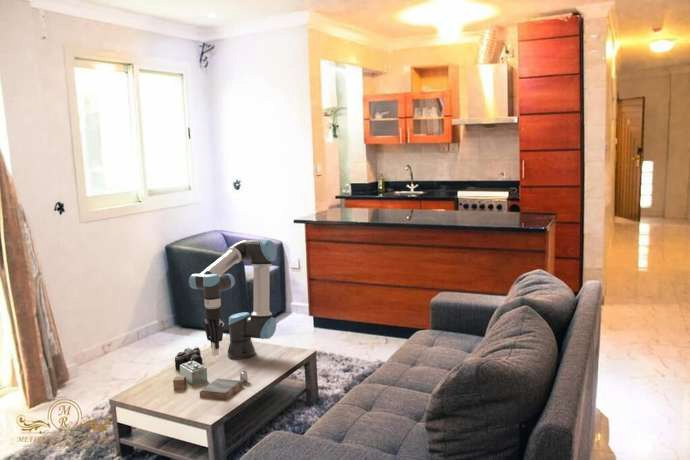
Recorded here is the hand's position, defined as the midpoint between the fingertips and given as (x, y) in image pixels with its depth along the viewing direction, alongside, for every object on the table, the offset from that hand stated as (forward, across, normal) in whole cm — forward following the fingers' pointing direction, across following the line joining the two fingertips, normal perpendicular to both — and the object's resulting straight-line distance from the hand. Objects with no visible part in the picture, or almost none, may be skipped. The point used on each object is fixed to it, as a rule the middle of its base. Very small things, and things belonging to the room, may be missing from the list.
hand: (215, 355), depth 274 cm
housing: (+17, -21, +4) cm, 27 cm away
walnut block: (+17, -19, -6) cm, 26 cm away
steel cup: (+17, +5, +13) cm, 22 cm away
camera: (+17, -35, +16) cm, 42 cm away
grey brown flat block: (+17, +3, -1) cm, 18 cm away
